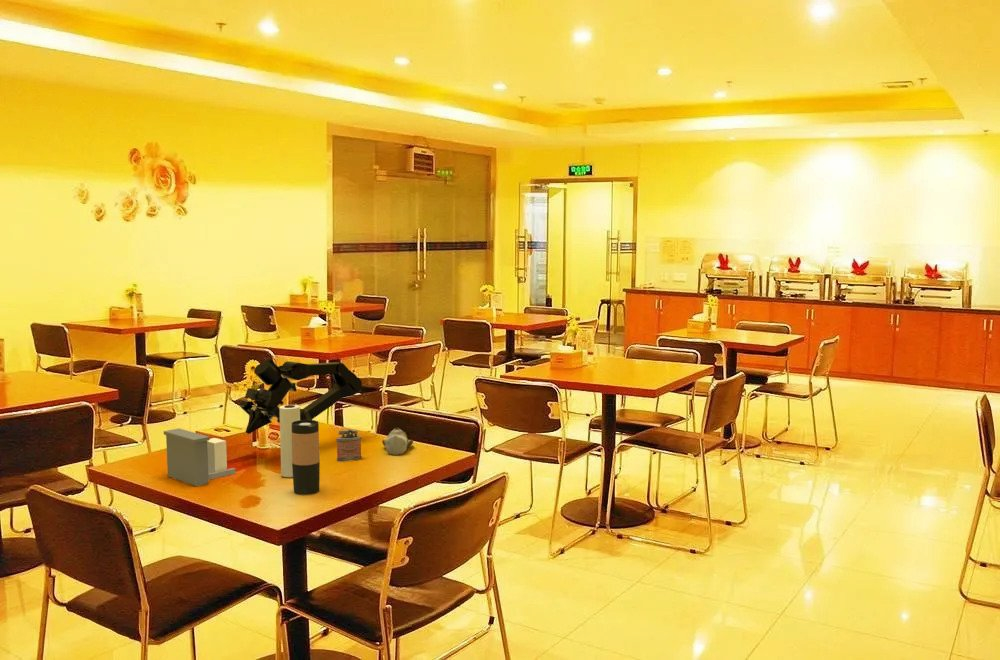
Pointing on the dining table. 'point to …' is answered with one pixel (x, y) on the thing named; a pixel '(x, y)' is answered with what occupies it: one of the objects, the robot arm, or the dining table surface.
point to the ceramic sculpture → (397, 442)
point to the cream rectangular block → (216, 455)
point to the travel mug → (305, 457)
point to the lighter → (348, 445)
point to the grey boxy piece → (189, 457)
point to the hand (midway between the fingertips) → (247, 433)
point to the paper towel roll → (287, 436)
